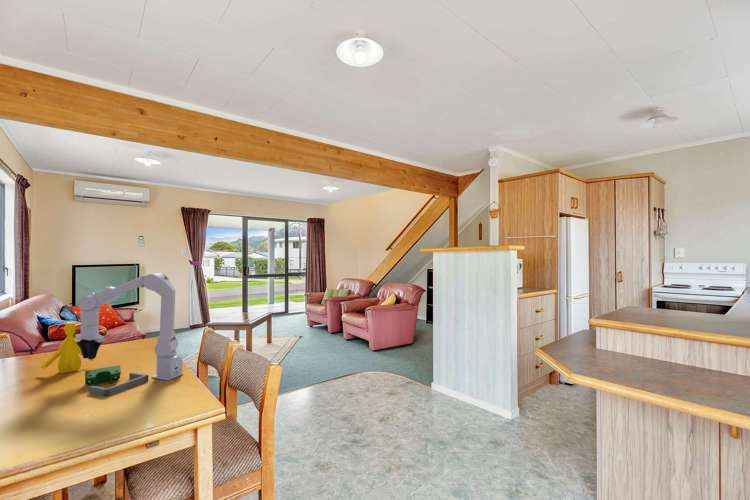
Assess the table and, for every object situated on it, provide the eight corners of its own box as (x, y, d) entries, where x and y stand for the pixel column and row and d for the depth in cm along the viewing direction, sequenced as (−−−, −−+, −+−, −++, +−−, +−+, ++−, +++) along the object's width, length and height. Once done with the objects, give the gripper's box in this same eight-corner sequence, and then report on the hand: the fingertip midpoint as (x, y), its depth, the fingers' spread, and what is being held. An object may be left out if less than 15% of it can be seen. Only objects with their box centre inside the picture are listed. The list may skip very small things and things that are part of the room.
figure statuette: (93, 364, 163) (94, 317, 163) (96, 368, 157) (96, 320, 157) (40, 374, 150) (41, 323, 150) (41, 378, 145) (42, 325, 145)
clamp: (91, 398, 136) (79, 381, 133) (91, 389, 141) (79, 373, 137) (126, 381, 142) (115, 364, 139) (125, 373, 147) (115, 357, 143)
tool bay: (148, 381, 143) (148, 374, 143) (106, 396, 127) (106, 389, 127) (132, 378, 146) (132, 372, 146) (89, 393, 130) (89, 386, 130)
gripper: (66, 325, 141) (66, 359, 141) (91, 328, 136) (91, 363, 136) (85, 322, 147) (85, 354, 147) (110, 324, 143) (109, 357, 143)
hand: (89, 358), depth 142 cm, fingers open, 3 cm apart
